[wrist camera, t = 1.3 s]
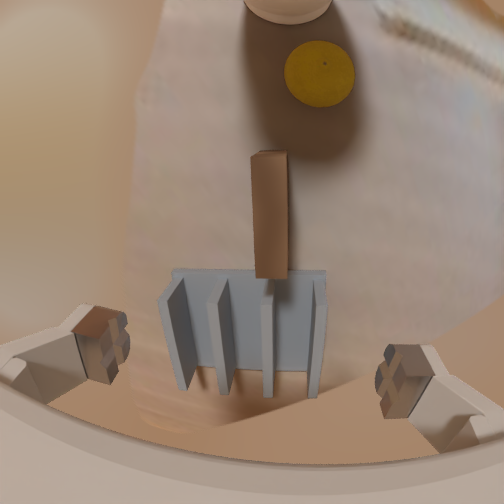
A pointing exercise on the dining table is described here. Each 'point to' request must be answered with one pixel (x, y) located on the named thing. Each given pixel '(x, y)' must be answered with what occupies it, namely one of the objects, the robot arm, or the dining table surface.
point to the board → (270, 213)
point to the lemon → (319, 73)
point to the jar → (288, 10)
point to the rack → (245, 324)
